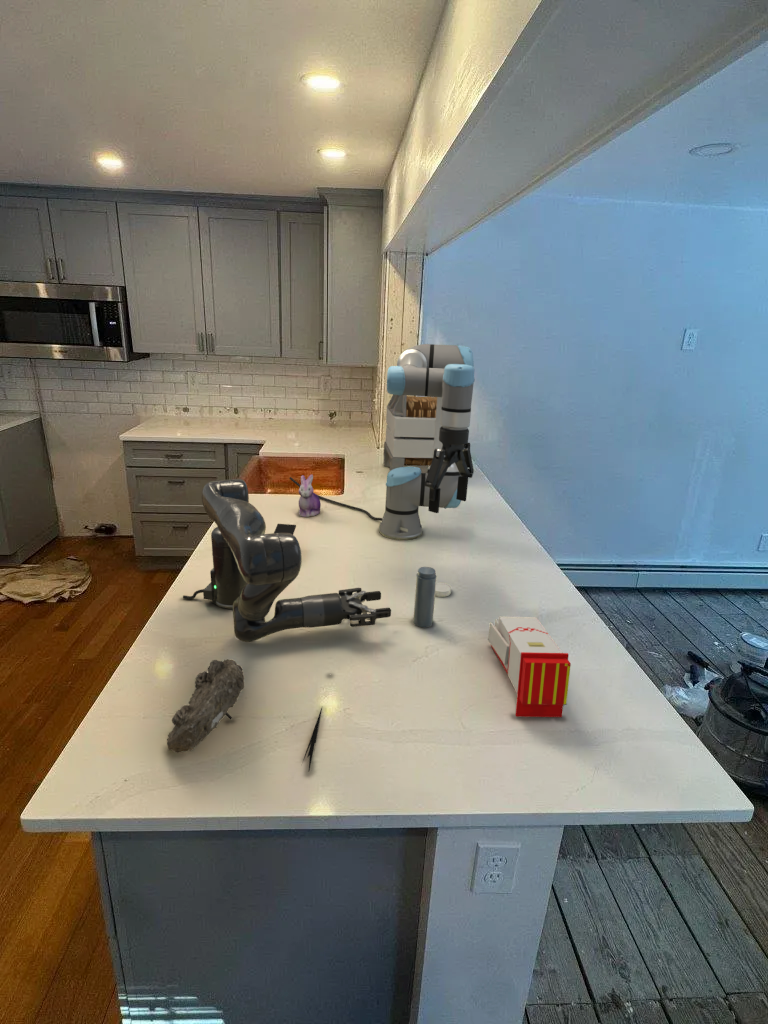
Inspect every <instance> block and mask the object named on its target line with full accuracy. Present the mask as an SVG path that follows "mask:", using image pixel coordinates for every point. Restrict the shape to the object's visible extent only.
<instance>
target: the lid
mask: <svg viewBox="0 0 768 1024" xmlns="http://www.w3.org/2000/svg"><path fill="white" fill-rule="evenodd" d="M451 594H452V586H451V585H450V584H448V583H446V582H440V581H436V589H435V597H439V598H442V597H448V596H450V595H451Z"/></svg>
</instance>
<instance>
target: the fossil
mask: <svg viewBox="0 0 768 1024" xmlns="http://www.w3.org/2000/svg"><path fill="white" fill-rule="evenodd" d="M243 670H244V669H243V667H242V665H240V664H237V662H236V661H235V660H234V659H232V658H231V659H227V658H226V659H224V660H223V661H222V660H217V659H212V660H211V661H210V663H209V665H208V666H207V671H201V672H199V673H198V674H197V675H196V676H195V680H194V684H195V685H194V687H195V689H194V690H193V693H192V694H191V697H190V698H189V700H188V704H184V705H182V706H181V707H180V709H177V710H176V711H175V713H174V715H173V716H172V718H171V723H172V724H173V727H172V730H171V731H170V732H168V734H167V738H166V741H167V742H166V745H167V749H168V750H169V751H173V752H174V753H176V754H178V753H182V752H188V751H189V752H192V751H193V750H195V748H196V747H197V746H199V744H200V743H201V742H203V741H204V740H205V739H206V738H207V737H208V736H209V735H210V734H211V733H212V732H214V730H215V729H217V727H218V726H219V724H220V722H221V721H222V720H223V719H224V718H225V716H226V717H227V719H229V720H233V717H232V715H230V714H229V710H230V709H231V708H234V706H235V704H236V703H237V702H238V699H239V697H240V695H241V693H242V691H243V690H245V689H244V688H245V675H244V671H243Z"/></svg>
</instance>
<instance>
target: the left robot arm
mask: <svg viewBox="0 0 768 1024" xmlns="http://www.w3.org/2000/svg"><path fill="white" fill-rule="evenodd" d="M248 488H249V487H248V485H247V483H246V481H245V480H244V479H243V478H232V479H219V480H212V481H208V482H206V483H205V485H204V486H203V488H202V490H201V502H202V506H203V510H204V511H205V513H206V515H207V516H208V517H209V519H210V520H212V521H213V522H214V523H215V524H216V527H215V528H214V529H213V530H212V531H211V534H210V539H211V540H210V541H211V552H212V553H211V554H212V555H211V556H212V568H211V569H210V572H209V573H210V583H208V585H207V586H206V587H205V588H202V589H197V590H196V591H194V593H193V594H192V595H185V594H184V595H182V598H183V599H185V600H194V599H195V598H196V597H197V595H198V594H203V595H202V596H203V600H206V601H207V600H208V601H211V603H212V604H213V605H216V606H217V607H219V608H223V609H226V610H227V609H232V617H233V618H232V619H233V632H234V633H233V634H234V636H235V638H236V639H237V640H239V641H241V642H245V643H251V642H255V641H258V640H260V639H263V638H265V637H269V636H271V635H273V634H275V633H276V634H277V633H278V632H283V631H285V630H292V629H301V628H309V629H310V628H320V627H329V626H336V625H337V626H339V625H341V624H342V621H343V620H349V627H352V628H354V627H355V628H356V627H365V626H375V625H376V620H377V619H386V618H390V617H391V616H392V609H391V608H390V607H381V608H375V609H374V608H371V607H368V605H366V604H363V603H364V602H372V601H380V600H381V599H382V592H381V590H376V591H375V590H374V591H366V590H363V589H362V587H353V588H345V589H339V590H338V592H331V593H323V594H311V595H305V596H301V597H294V598H293V597H292V598H283V599H279V600H277V601H276V602H275V600H276V599H277V598H278V596H280V595H281V593H283V591H285V590H286V589H287V588H288V586H289V585H291V584H292V582H294V581H295V579H297V577H298V575H299V574H300V572H301V568H302V563H303V557H302V549H301V545H300V541H298V538H297V537H296V536H295V535H294V534H293V535H292V534H290V533H274V532H273V533H272V532H271V533H266V530H267V526H266V520H265V518H264V516H263V515H262V514H261V512H260V511H259V510H258V508H256V507H255V506H254V505H253V504H252V503H250V499H249V498H250V495H249V489H248ZM274 602H275V604H274ZM273 604H274V605H275V606H274V611H273V617H272V618H271V619H269V620H267V621H266V617H267V615H268V614H269V613H270V610H271V608H272V607H273Z"/></svg>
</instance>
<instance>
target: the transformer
mask: <svg viewBox="0 0 768 1024" xmlns="http://www.w3.org/2000/svg"><path fill="white" fill-rule="evenodd" d="M436 406H437V397H427V396H408V395H401V396H398V395H393V394H392V395H391V398H390V400H389V402H388V404H387V405H386V413H385V414H386V415H385V423H386V428H385V438H384V442H383V466H384V467H388V468H389V472H390V471H391V470H393V469H395V468H399V467H405V466H406V467H407V466H412V467H417V466H418V467H429V466H430V465H431V463H432V460H433V448H434V434H435V420H436Z"/></svg>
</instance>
